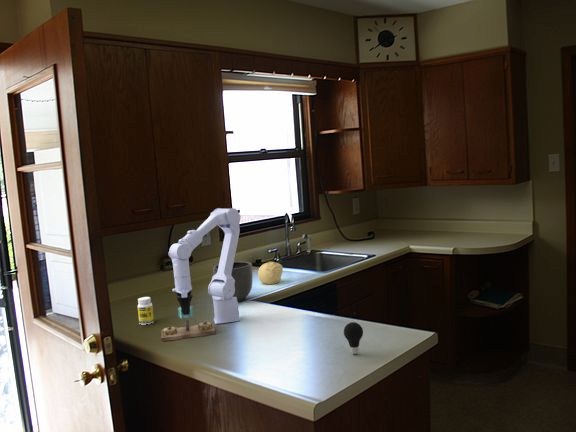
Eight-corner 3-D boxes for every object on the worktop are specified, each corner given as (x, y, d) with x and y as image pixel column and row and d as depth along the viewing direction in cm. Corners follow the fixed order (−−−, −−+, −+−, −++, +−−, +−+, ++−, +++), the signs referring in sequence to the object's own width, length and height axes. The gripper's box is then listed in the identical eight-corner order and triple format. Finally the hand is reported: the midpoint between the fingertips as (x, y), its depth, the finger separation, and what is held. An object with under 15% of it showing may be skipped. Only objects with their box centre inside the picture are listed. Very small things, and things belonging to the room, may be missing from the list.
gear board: (212, 325, 209) (211, 313, 208) (215, 333, 199) (213, 320, 199) (161, 333, 205) (160, 320, 204) (161, 341, 195) (160, 328, 195)
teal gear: (193, 313, 205) (192, 304, 204) (193, 317, 199) (193, 308, 199) (178, 315, 203) (177, 306, 203) (178, 319, 198) (177, 310, 198)
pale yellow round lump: (275, 286, 265) (273, 264, 264) (254, 285, 272) (252, 263, 270) (287, 280, 275) (285, 259, 274) (266, 279, 281) (265, 259, 280)
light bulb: (362, 350, 171) (360, 319, 169) (366, 357, 165) (363, 324, 164) (344, 352, 170) (341, 320, 169) (346, 358, 165) (344, 326, 164)
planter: (210, 306, 238) (206, 270, 237) (224, 295, 255) (220, 261, 253) (247, 305, 234) (244, 268, 233) (259, 295, 251) (256, 260, 249)
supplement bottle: (139, 326, 217) (136, 300, 216) (139, 322, 222) (136, 297, 221) (154, 323, 218) (151, 298, 217) (154, 320, 224) (151, 295, 223)
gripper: (170, 273, 206) (174, 308, 207) (171, 281, 192) (175, 319, 193) (189, 271, 207) (193, 306, 209) (191, 278, 193) (195, 316, 195)
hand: (185, 312), depth 201 cm, fingers closed on teal gear, 5 cm apart
